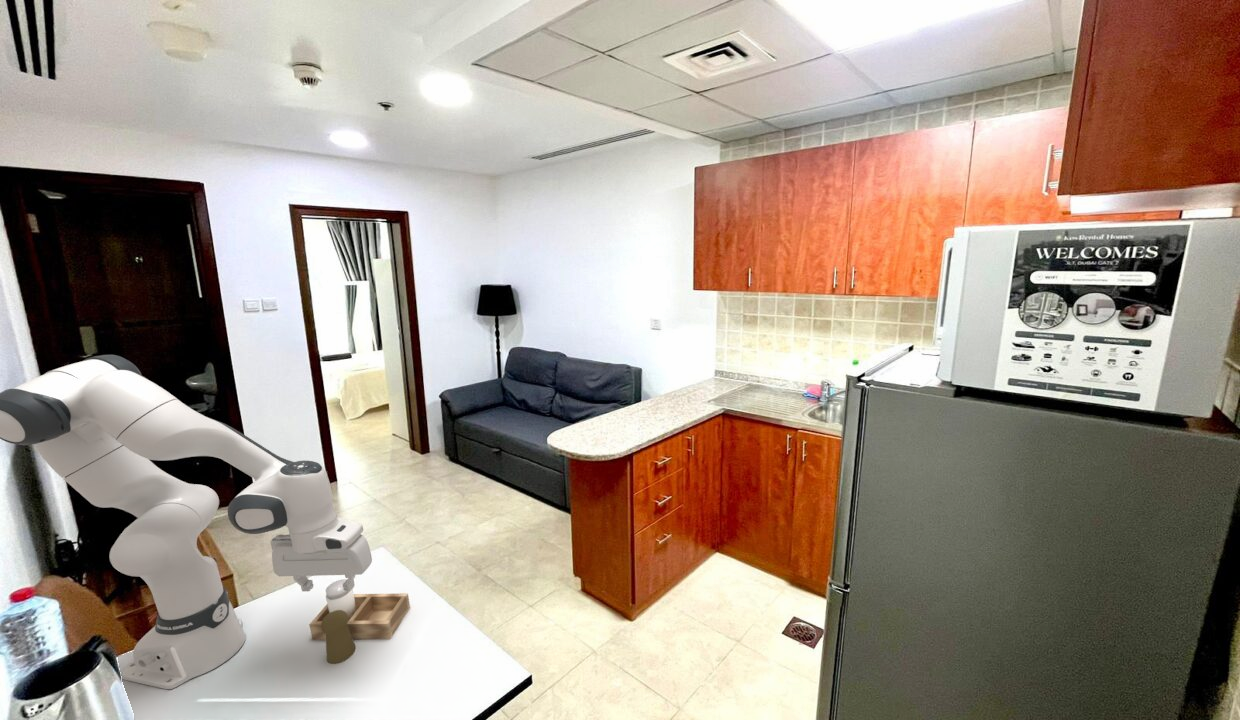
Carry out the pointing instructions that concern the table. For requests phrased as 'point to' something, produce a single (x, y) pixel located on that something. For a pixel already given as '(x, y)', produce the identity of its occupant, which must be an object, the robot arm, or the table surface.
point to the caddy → (370, 616)
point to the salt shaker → (340, 598)
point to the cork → (337, 637)
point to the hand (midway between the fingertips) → (328, 589)
